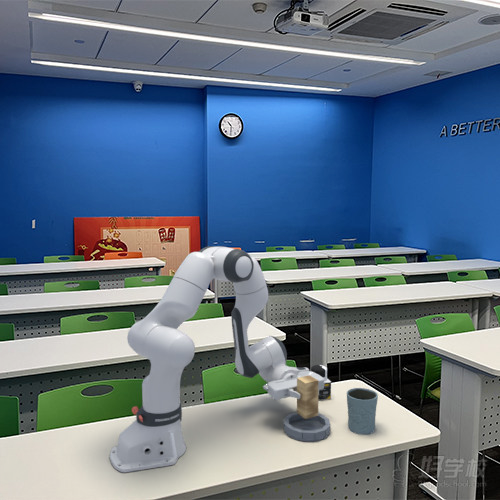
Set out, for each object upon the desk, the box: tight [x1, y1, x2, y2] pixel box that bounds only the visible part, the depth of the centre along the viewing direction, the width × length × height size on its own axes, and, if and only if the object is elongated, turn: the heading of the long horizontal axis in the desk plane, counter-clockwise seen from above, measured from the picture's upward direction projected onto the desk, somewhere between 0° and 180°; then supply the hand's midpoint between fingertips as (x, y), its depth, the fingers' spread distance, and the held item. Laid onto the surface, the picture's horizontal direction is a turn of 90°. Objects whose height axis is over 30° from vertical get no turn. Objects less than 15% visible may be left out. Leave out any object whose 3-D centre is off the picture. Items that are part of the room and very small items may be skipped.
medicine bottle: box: [310, 364, 332, 402], centre depth 187 cm, size 7×7×12 cm
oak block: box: [296, 375, 319, 419], centre depth 161 cm, size 5×5×12 cm
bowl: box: [283, 411, 331, 443], centre depth 162 cm, size 15×15×3 cm
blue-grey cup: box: [346, 387, 379, 435], centre depth 163 cm, size 10×10×12 cm
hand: (309, 394), depth 160 cm, fingers closed on oak block, 5 cm apart
